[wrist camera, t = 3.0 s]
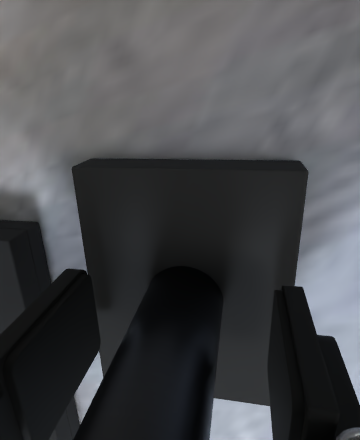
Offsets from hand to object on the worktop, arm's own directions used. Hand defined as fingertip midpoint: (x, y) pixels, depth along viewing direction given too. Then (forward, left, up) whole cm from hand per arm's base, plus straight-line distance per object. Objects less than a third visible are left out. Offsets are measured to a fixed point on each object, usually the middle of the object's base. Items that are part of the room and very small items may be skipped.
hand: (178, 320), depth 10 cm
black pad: (0, 0, -3) cm, 3 cm away
